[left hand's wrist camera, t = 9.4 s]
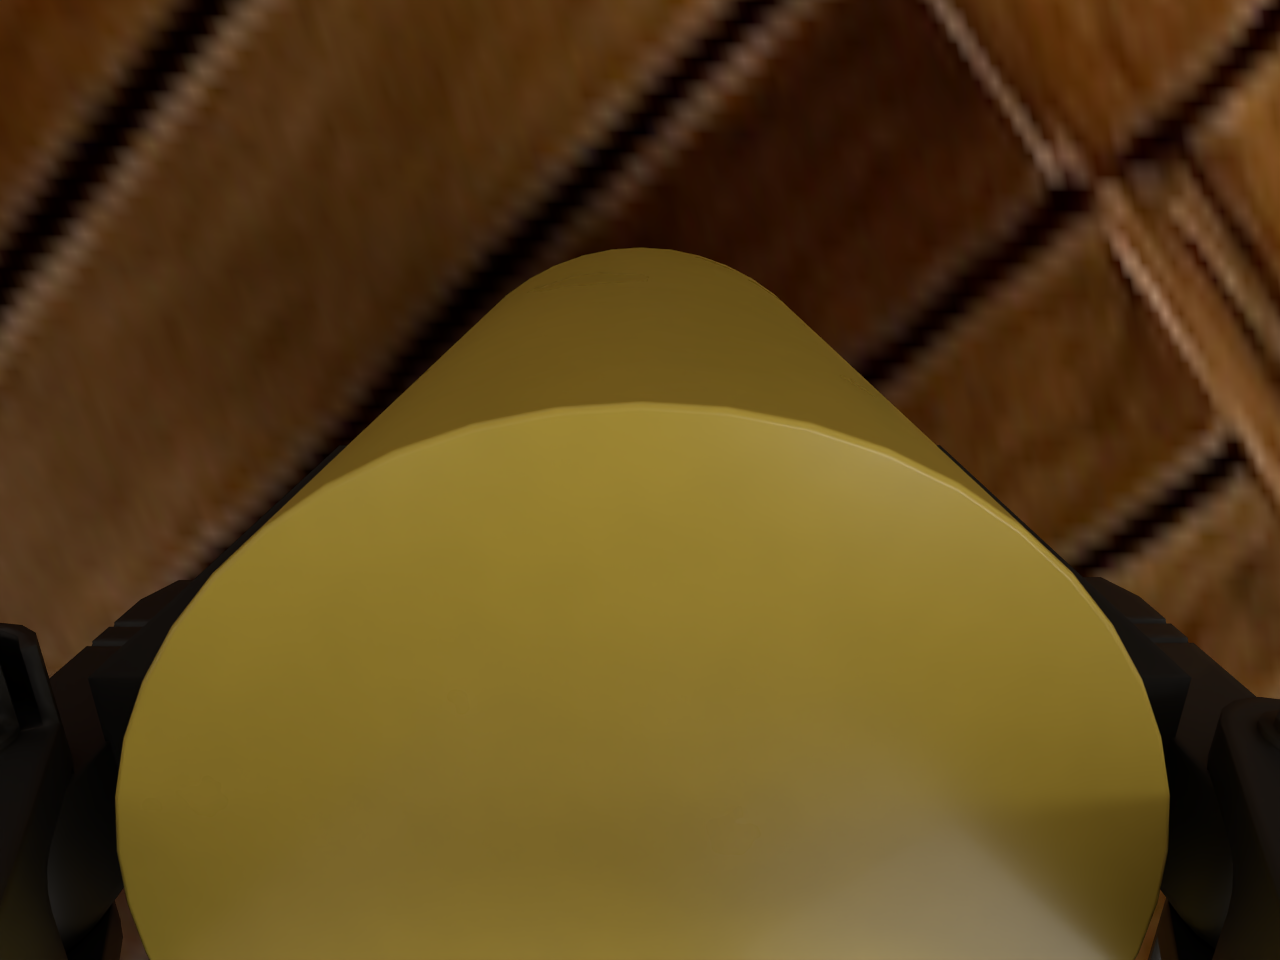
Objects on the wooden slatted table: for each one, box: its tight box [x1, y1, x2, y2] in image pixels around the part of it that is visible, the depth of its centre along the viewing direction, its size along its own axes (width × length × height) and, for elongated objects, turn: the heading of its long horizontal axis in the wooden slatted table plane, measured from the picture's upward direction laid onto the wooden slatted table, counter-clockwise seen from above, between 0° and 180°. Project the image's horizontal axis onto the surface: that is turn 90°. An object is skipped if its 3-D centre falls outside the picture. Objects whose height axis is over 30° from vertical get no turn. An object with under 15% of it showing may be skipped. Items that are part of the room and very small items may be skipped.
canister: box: [115, 248, 1170, 960], centre depth 12 cm, size 8×8×11 cm
